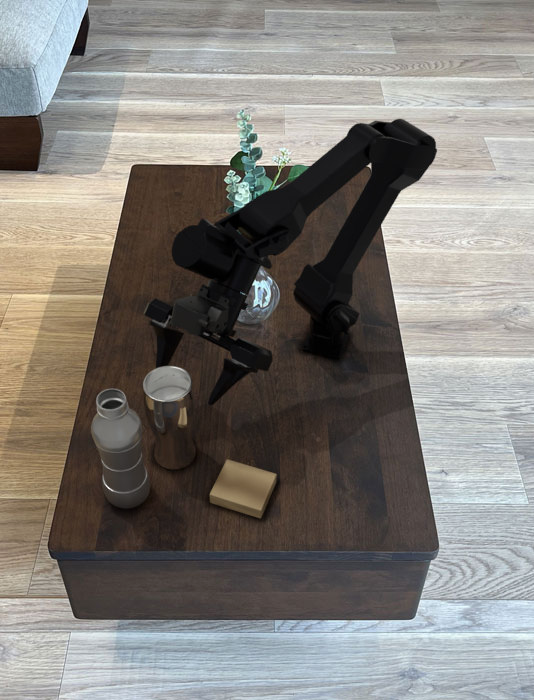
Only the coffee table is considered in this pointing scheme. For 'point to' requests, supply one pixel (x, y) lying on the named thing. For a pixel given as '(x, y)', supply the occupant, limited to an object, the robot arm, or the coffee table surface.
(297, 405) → the coffee table surface
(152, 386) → the metal cup
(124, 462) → the plastic bottle
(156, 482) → the coffee table surface
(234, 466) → the wooden block
